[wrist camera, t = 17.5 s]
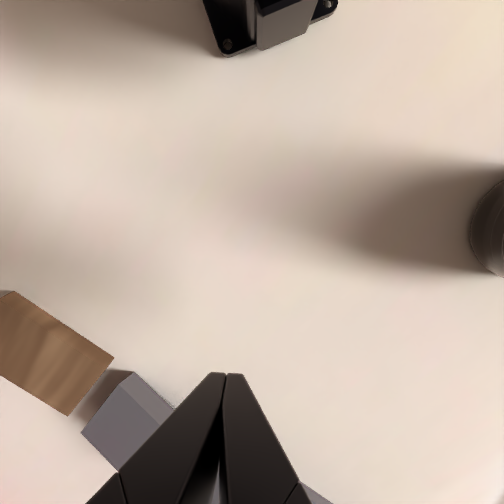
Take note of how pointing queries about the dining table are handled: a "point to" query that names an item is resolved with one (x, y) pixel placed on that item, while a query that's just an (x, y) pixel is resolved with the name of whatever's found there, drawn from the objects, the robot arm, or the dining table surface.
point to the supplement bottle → (490, 230)
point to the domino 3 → (315, 496)
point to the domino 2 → (126, 420)
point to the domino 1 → (46, 355)
